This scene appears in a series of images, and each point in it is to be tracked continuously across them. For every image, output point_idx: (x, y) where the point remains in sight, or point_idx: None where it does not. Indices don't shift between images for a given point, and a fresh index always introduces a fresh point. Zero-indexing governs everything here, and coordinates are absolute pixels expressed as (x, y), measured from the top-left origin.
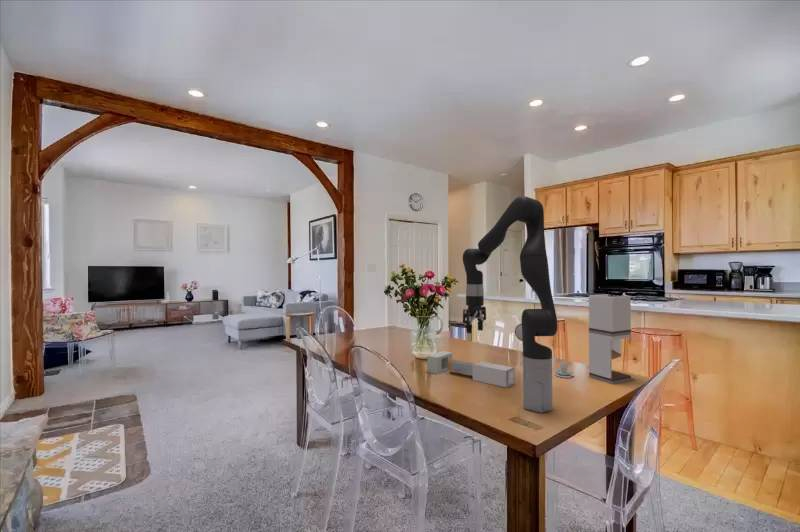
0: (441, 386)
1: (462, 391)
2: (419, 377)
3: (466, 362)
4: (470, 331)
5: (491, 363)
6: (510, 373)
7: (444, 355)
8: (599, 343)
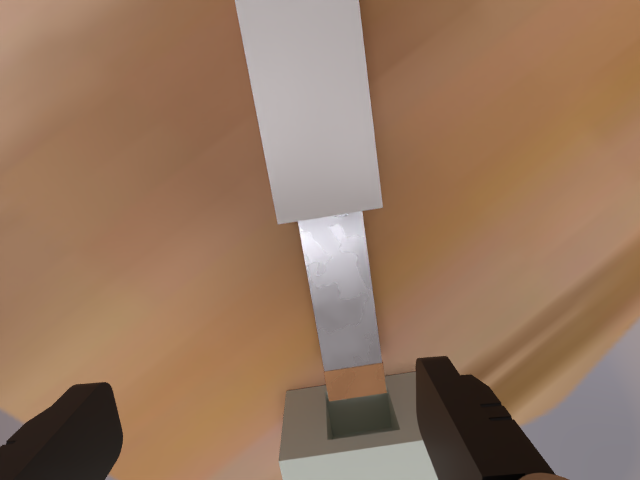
0: (565, 231)
1: (562, 107)
2: (522, 388)
3: (322, 298)
4: (455, 372)
5: (262, 125)
6: None
7: (370, 447)
8: None
